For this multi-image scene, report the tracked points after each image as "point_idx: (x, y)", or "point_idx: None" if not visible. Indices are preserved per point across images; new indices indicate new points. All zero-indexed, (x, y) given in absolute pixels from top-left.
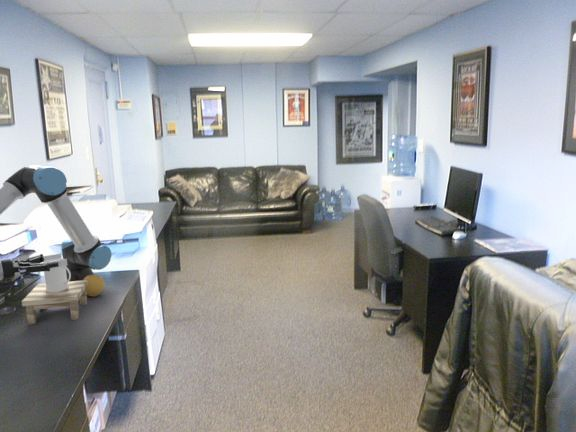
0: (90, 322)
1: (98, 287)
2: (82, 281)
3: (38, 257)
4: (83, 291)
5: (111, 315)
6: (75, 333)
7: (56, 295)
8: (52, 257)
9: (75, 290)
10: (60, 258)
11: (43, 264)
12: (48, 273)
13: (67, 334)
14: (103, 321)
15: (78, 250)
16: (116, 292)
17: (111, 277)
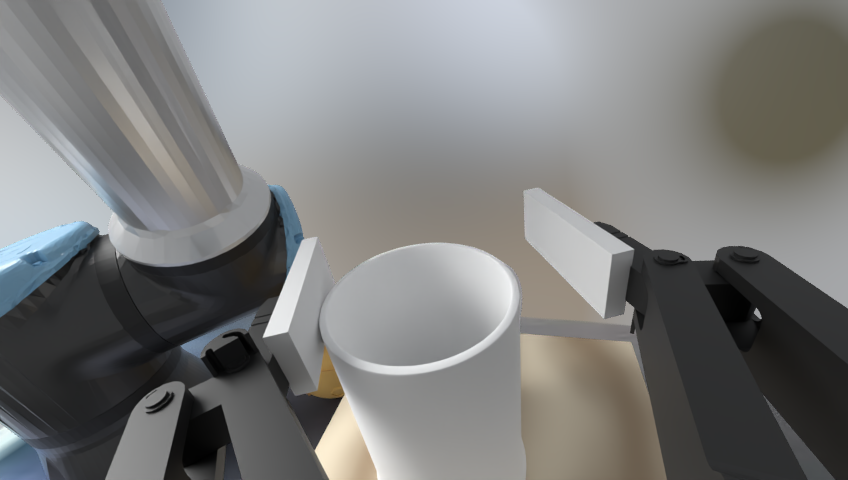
0: (646, 382)
1: None
2: None
3: (269, 392)
4: None
5: (579, 325)
6: (795, 436)
7: (600, 451)
8: (316, 297)
9: (524, 354)
10: (364, 264)
11: (706, 292)
12: (512, 398)
13: (824, 476)
14: (636, 343)
15: (220, 239)
16: None
17: (214, 337)
